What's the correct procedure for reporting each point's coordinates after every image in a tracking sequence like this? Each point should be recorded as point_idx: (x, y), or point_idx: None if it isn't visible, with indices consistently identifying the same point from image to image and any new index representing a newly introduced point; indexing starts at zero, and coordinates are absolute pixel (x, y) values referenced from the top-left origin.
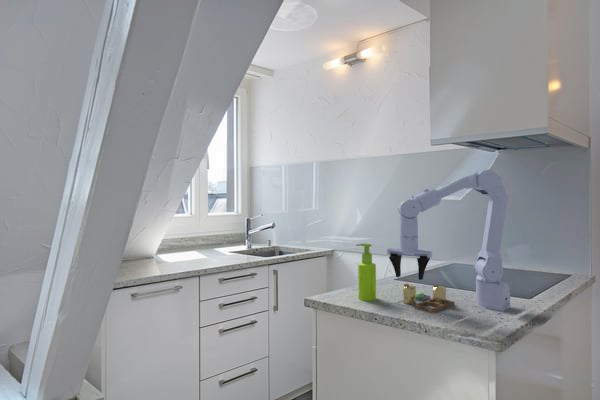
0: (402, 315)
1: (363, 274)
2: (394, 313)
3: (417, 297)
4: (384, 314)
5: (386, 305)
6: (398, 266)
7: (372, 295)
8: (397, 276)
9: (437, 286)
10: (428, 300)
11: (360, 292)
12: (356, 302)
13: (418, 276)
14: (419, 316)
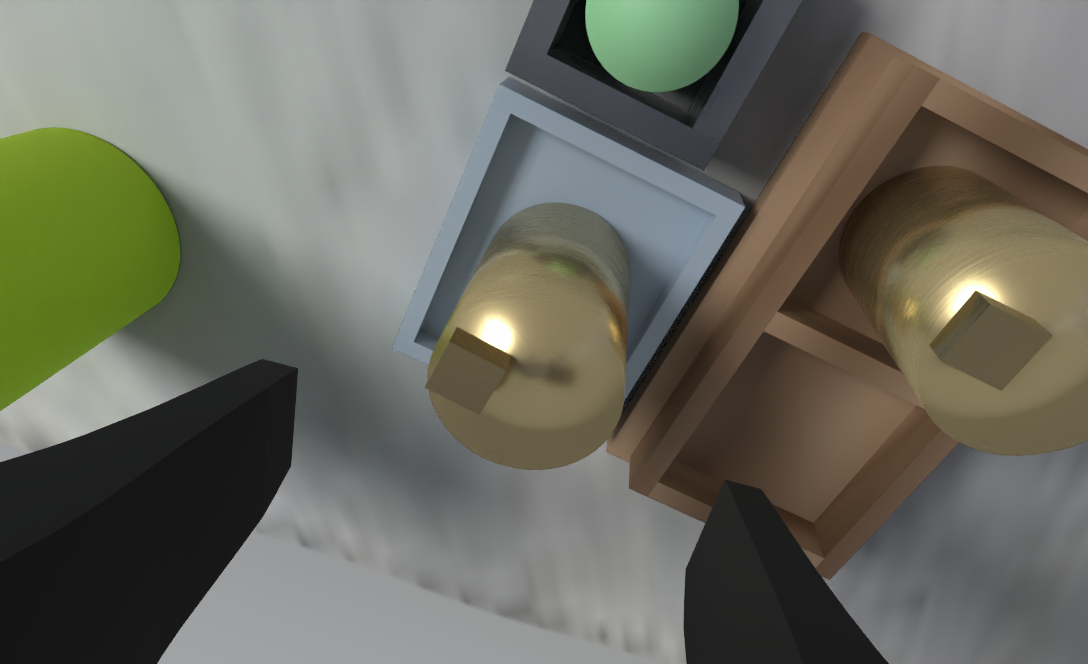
0: (540, 547)
1: None
2: (464, 514)
3: (636, 131)
4: (396, 555)
5: (316, 293)
6: (159, 572)
7: (109, 328)
8: (274, 475)
9: (1012, 355)
10: (793, 269)
11: None
12: None
13: (684, 633)
14: (684, 540)
